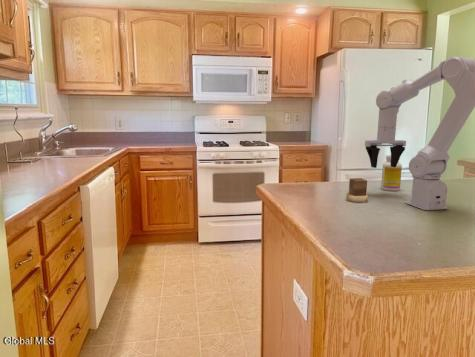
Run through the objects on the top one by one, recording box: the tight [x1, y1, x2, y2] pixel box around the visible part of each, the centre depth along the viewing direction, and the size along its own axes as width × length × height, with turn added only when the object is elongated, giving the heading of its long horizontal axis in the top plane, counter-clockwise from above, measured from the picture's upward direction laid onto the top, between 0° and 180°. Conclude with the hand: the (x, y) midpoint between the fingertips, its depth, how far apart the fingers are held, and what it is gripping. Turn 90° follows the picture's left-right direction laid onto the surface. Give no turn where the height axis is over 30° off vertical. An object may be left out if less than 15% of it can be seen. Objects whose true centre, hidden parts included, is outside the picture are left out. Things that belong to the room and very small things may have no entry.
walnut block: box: [348, 177, 368, 196], centre depth 115 cm, size 4×4×5 cm
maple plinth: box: [345, 192, 369, 204], centre depth 116 cm, size 7×7×2 cm
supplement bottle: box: [380, 154, 403, 192], centre depth 133 cm, size 7×7×13 cm
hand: (383, 167), depth 122 cm, fingers open, 7 cm apart
